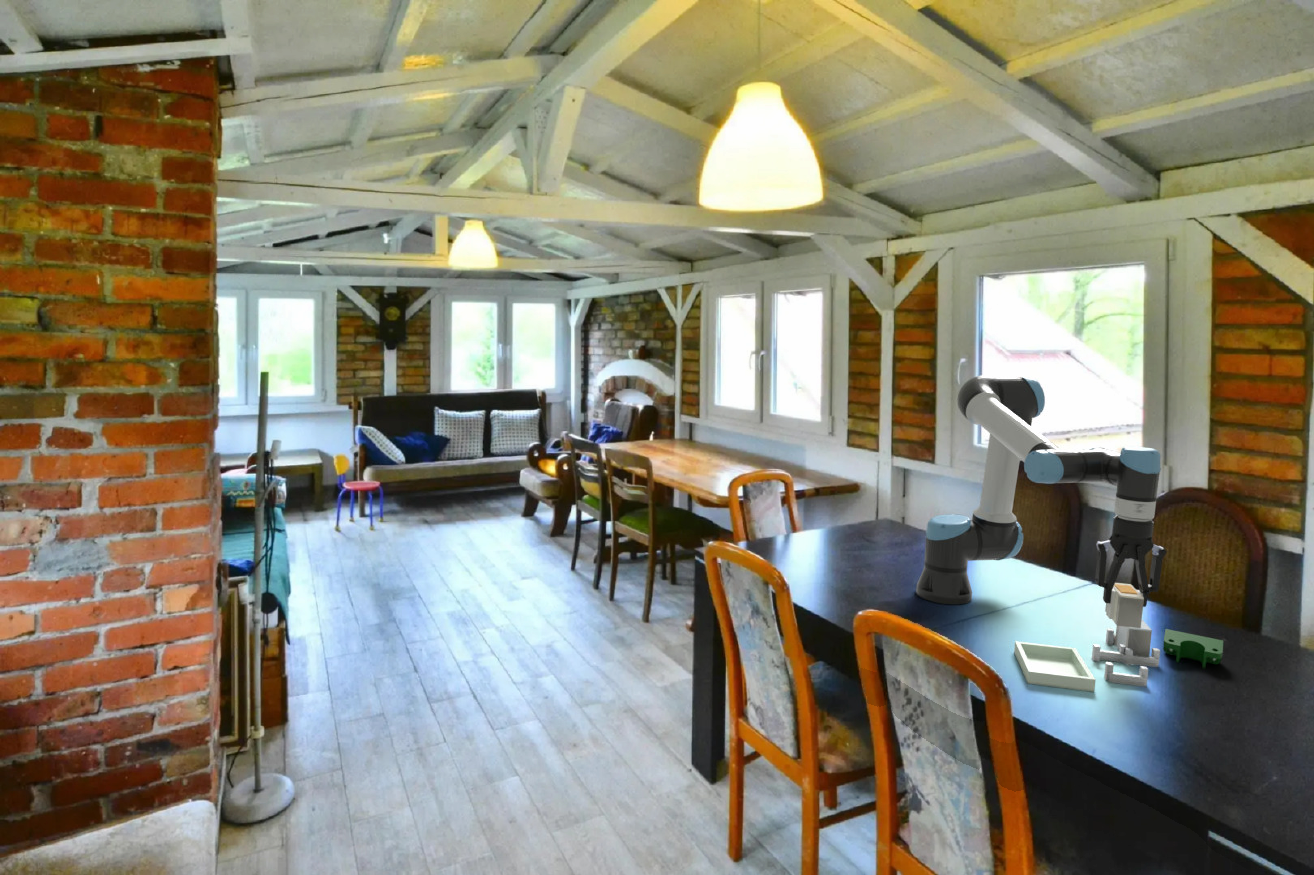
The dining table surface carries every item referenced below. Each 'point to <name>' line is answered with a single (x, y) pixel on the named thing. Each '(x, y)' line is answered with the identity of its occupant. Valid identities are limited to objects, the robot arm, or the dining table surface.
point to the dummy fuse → (1134, 638)
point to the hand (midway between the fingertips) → (1122, 618)
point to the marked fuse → (1127, 606)
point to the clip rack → (1127, 658)
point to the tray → (1054, 666)
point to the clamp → (1193, 647)
